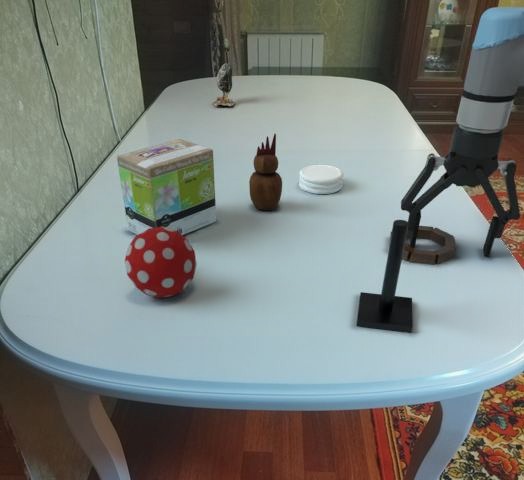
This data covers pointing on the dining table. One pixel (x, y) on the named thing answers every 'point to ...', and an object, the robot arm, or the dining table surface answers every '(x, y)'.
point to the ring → (430, 255)
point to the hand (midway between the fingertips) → (448, 249)
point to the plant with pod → (225, 80)
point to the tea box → (168, 187)
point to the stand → (388, 291)
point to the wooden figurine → (266, 178)
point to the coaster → (321, 179)
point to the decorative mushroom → (160, 262)
